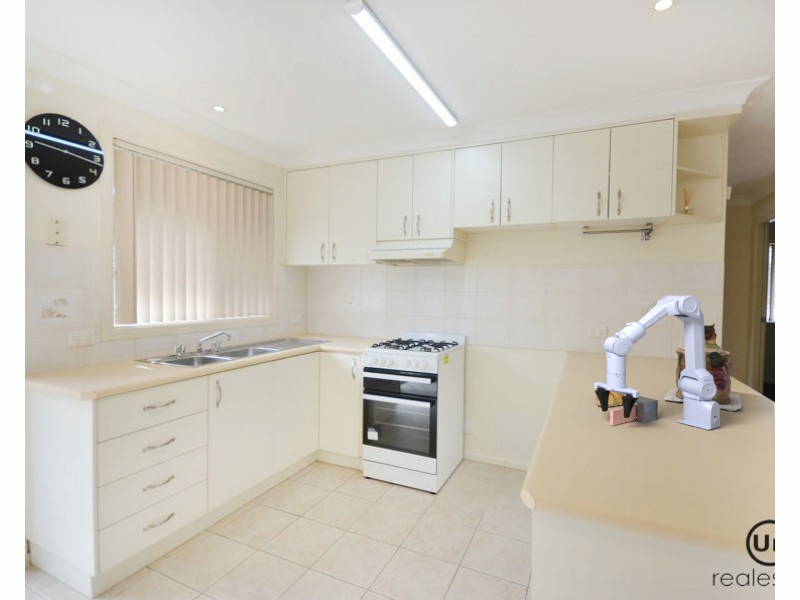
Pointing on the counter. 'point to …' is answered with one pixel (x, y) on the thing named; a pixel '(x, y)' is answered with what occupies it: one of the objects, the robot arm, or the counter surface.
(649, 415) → the grey cube
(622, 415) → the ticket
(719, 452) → the counter surface
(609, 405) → the croissant
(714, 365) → the cookie jar
